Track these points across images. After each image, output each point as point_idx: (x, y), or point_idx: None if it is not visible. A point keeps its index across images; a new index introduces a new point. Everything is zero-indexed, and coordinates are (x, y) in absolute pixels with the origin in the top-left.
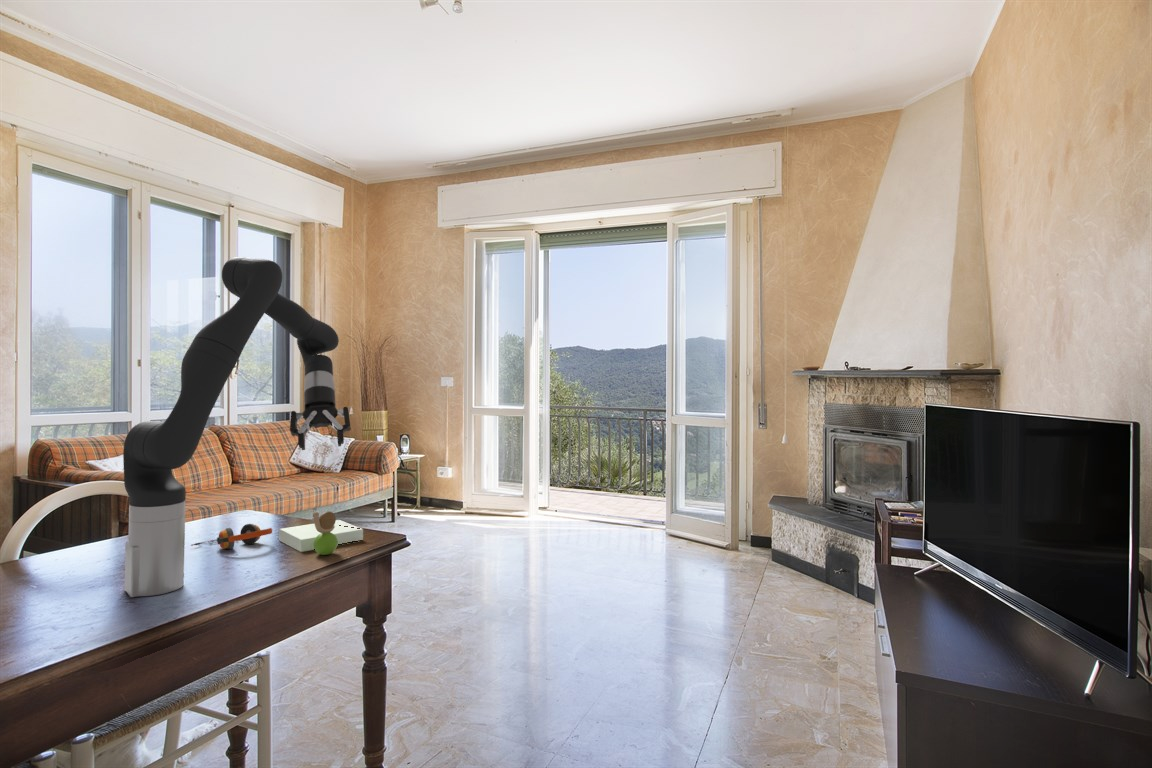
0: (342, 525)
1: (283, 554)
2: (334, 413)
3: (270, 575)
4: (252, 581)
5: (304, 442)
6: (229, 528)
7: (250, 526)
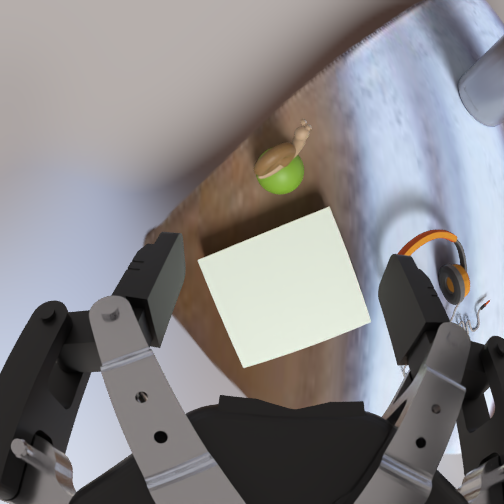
0: (238, 311)
1: (356, 203)
2: (99, 484)
3: (363, 88)
4: (382, 72)
5: (396, 300)
6: (461, 285)
7: None
